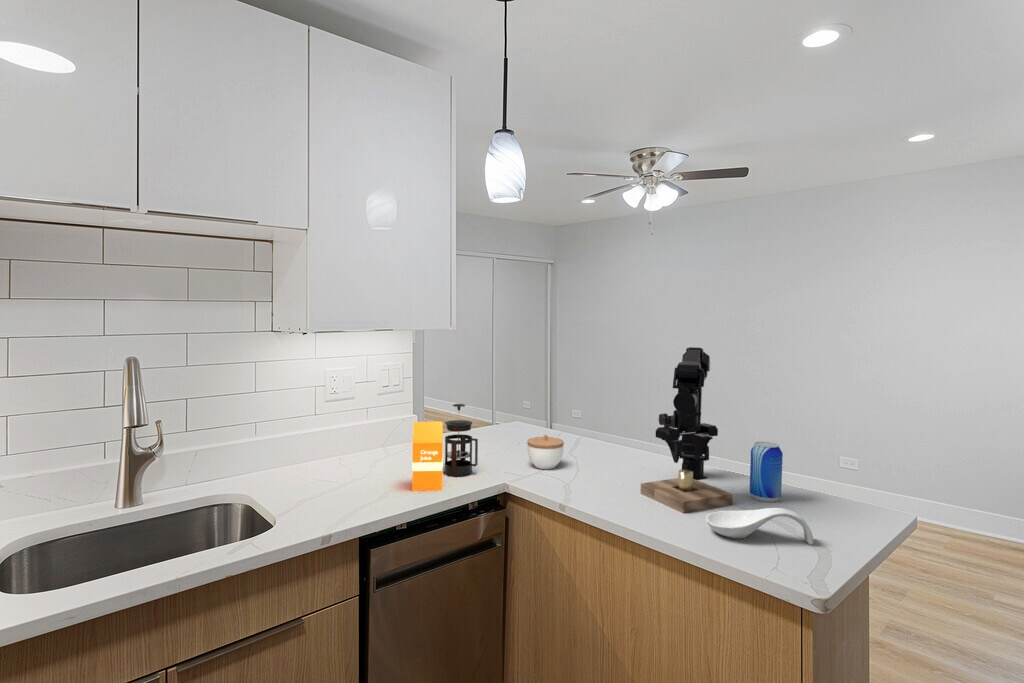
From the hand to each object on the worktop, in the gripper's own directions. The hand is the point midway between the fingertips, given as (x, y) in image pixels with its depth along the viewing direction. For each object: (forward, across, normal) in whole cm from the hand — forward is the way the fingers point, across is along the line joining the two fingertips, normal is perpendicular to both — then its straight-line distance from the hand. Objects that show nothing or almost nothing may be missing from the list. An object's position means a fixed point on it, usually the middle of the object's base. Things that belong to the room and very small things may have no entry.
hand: (686, 461), depth 161 cm
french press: (+11, +51, -50) cm, 72 cm away
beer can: (+11, -22, +9) cm, 26 cm away
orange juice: (+11, +65, -40) cm, 77 cm away
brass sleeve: (+11, 0, 0) cm, 11 cm away
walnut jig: (+11, 0, 0) cm, 11 cm away
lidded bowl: (+11, +21, -46) cm, 52 cm away
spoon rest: (+12, +3, +28) cm, 31 cm away
